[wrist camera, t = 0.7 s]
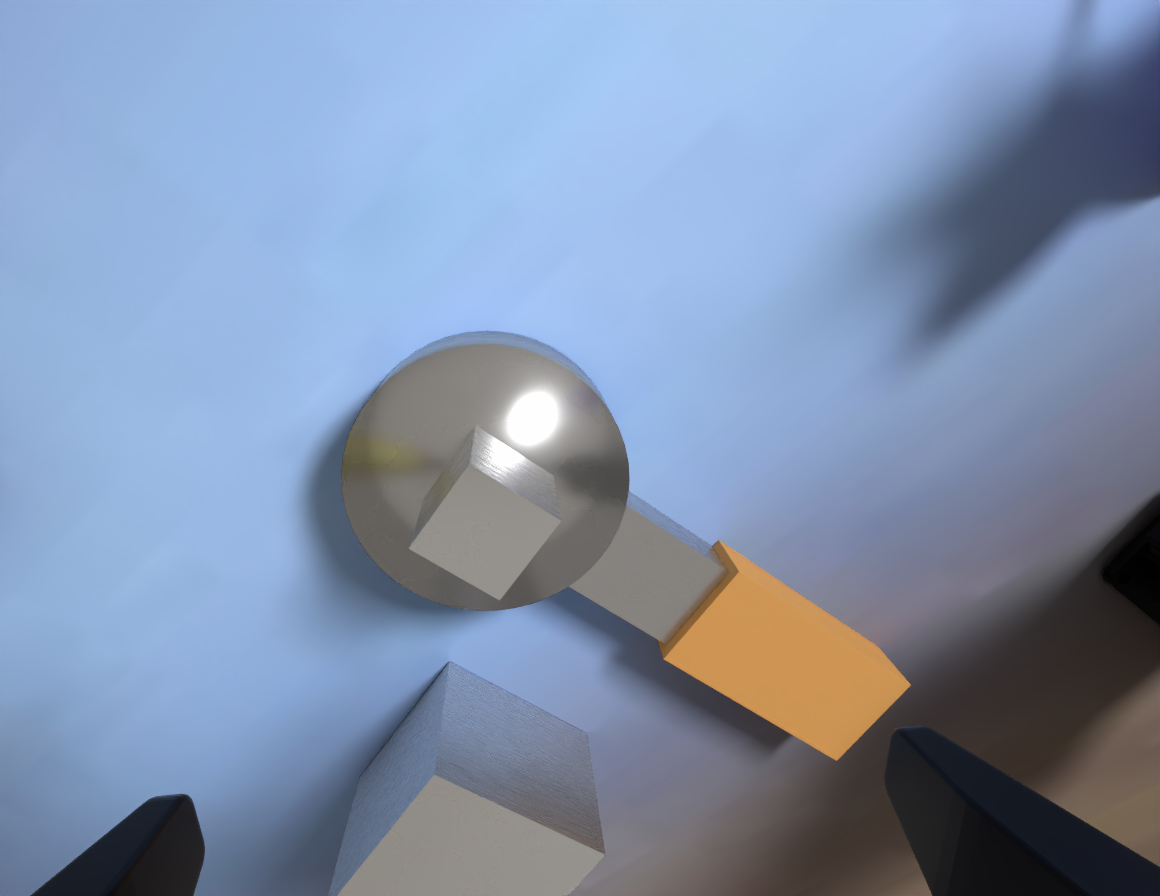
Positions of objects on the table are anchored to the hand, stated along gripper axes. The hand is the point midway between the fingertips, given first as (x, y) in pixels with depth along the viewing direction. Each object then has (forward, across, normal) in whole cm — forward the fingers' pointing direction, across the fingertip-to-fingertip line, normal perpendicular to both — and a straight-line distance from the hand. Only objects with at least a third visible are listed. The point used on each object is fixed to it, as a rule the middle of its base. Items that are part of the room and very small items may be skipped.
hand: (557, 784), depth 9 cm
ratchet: (+13, -3, +4) cm, 14 cm away
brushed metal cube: (+13, +3, +12) cm, 18 cm away
